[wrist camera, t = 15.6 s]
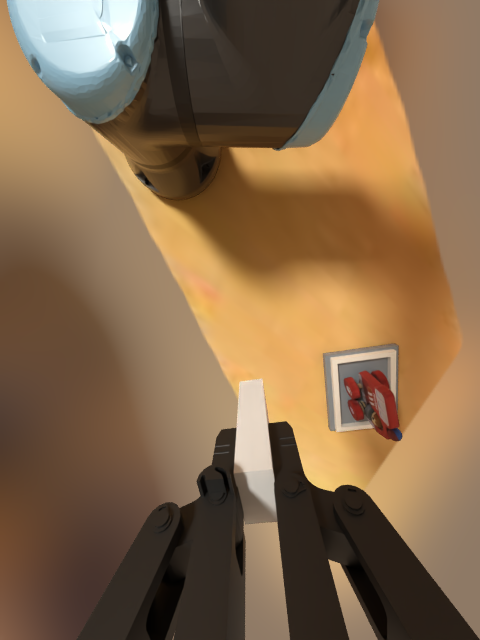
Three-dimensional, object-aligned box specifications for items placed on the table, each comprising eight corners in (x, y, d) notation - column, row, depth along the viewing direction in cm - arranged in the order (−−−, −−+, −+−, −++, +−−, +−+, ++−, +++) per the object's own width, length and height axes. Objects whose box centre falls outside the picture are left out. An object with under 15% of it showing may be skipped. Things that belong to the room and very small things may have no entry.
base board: (322, 353, 45) (326, 358, 43) (394, 343, 44) (401, 347, 42) (328, 427, 50) (332, 434, 48) (393, 419, 49) (400, 426, 47)
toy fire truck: (350, 418, 48) (377, 461, 38) (340, 368, 45) (366, 400, 35) (383, 411, 47) (420, 453, 37) (375, 359, 44) (413, 389, 34)
